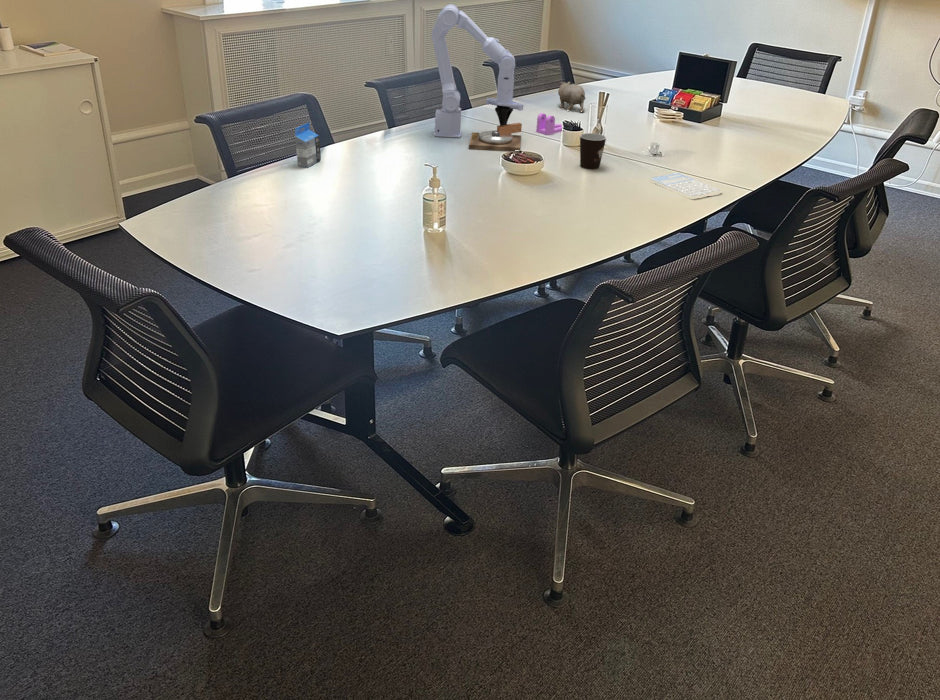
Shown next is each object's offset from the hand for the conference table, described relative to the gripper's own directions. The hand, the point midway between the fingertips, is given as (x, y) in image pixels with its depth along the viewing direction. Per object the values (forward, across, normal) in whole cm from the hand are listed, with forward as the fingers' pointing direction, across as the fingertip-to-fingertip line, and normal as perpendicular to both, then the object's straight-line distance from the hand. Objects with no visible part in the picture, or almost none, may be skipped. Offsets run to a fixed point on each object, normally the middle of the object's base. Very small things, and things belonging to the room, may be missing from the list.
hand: (503, 127), depth 299 cm
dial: (+2, +4, -7) cm, 8 cm away
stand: (+4, +3, -10) cm, 11 cm away
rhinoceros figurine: (+4, -1, +58) cm, 58 cm away
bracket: (+4, +10, +20) cm, 23 cm away
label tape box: (+4, -33, -68) cm, 76 cm away
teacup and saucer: (+4, +54, +19) cm, 58 cm away
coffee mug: (+4, +42, -10) cm, 43 cm away
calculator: (+4, +74, -12) cm, 75 cm away
